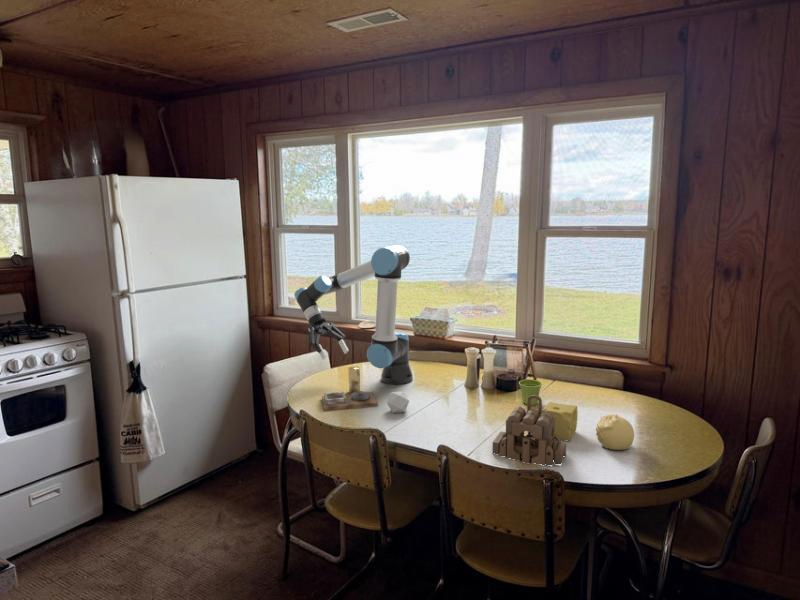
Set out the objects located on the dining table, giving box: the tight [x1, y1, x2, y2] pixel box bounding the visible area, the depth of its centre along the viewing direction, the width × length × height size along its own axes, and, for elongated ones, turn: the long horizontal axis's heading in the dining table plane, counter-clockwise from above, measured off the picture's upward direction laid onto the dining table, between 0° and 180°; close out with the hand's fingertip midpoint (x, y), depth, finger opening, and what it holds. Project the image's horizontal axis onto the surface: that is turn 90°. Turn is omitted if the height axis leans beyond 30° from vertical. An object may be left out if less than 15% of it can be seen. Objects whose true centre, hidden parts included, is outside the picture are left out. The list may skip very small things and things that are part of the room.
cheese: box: [542, 401, 579, 442], centre depth 191 cm, size 10×11×10 cm
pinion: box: [347, 366, 361, 394], centre depth 239 cm, size 5×5×11 cm
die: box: [386, 391, 410, 414], centre depth 215 cm, size 8×9×10 cm
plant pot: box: [518, 379, 543, 405], centre depth 222 cm, size 9×9×9 cm
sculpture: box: [595, 413, 635, 451], centre depth 180 cm, size 12×12×11 cm
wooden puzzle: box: [491, 395, 567, 465], centre depth 175 cm, size 22×15×19 cm, turn 64°
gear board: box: [321, 390, 379, 412], centre depth 226 cm, size 22×14×4 cm, turn 102°
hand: (336, 355), depth 244 cm, fingers open, 13 cm apart
